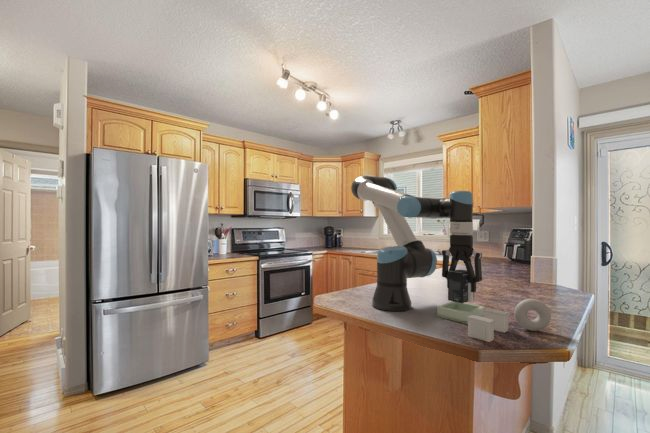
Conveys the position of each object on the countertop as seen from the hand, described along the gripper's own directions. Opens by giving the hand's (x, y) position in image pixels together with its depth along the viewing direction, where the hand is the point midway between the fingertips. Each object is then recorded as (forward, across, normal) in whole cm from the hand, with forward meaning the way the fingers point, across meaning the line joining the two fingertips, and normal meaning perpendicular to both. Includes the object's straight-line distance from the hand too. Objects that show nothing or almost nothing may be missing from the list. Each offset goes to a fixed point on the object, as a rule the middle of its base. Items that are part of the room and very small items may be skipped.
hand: (461, 299), depth 109 cm
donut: (+6, +21, +3) cm, 22 cm away
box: (+1, 0, 0) cm, 1 cm away
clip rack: (+6, +13, -10) cm, 17 cm away
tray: (+6, 0, 0) cm, 6 cm away
